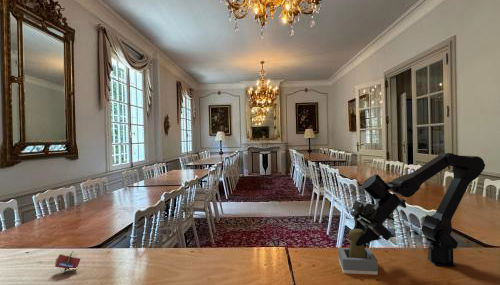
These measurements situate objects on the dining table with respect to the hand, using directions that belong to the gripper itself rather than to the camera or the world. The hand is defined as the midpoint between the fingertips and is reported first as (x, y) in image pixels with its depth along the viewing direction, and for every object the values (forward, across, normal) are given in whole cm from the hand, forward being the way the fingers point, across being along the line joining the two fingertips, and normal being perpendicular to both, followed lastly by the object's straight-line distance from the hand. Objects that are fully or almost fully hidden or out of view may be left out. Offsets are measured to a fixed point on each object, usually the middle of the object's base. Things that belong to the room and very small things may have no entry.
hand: (353, 242), depth 102 cm
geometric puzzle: (+74, -8, -64) cm, 98 cm away
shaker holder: (+5, 0, +7) cm, 8 cm away
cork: (+4, 0, +6) cm, 7 cm away
